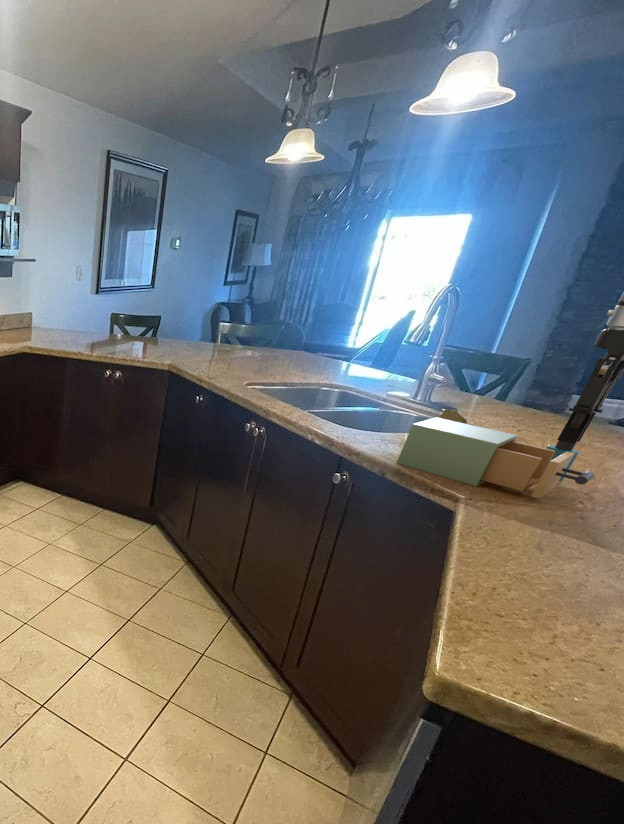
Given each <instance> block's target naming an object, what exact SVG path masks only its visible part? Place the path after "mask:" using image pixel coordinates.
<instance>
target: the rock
mask: <svg viewBox="0 0 624 824" xmlns="http://www.w3.org/2000/svg"><path fill="white" fill-rule="evenodd" d="M438 418H441V419H446V420H450V421H455V422H460V423H464V424H468V421H467V419H466V418H465V417H463V416H462V415H461V414H460V413H459V412H457V411H456V410H452V409H448V408H446V409H445V410H444V411H443V412H442V413H441V414H440V415H439V417H438Z"/></svg>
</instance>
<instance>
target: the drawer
mask: <svg viewBox="0 0 624 824" xmlns="http://www.w3.org/2000/svg"><path fill="white" fill-rule="evenodd" d="M554 453H555V451H554V450H549V449H546V448H545V447H540V446H535V445H532V444H527V443H523V442H519V441H515V442H514V441H510V442H508V443H506V444H503V445H501V446H499V447H497V449H496V451H495V453H494V455H493V457H492V459H491V460H490V462H489V464H488V466H487V468H486V470H485V472H484V474H483V476H482V478H481V480H484V481H485V482H487V483H490V484H493V485H494V484H495V485H499V486H500V487H501V486H502V487H504V488H508V489H512V490H515V491H519V492H524V491H526V490H528V489H529V488H531V487H533V486H534V485H535V484H536V486H535V488H534V489H533V491H532V493H531V495H530V497H531V498H534V499H540V498H542V497H543V496H545V495H546V494H548V493H549V492H551V491H552V490H554V489H555V488H556V487H557V486H558V484H559V483H560V482H559V480H560V478H561V477H564V479H568V480H572V481H574V482H575V483H576V484H577V485H585V484H587V483H588V482H590V481H591V480H592V479H594V478H595V473H594V472H593V471H591V470H587V471H584V472H582V471H578V470H574V469H571V468H570V469H566V468H567V466H568V465H569V463H570V461H571V459H572V458H573V456H574V454H575V453H571V452H565V453H564V454H562V455H560V456H558V457H557V458H555V459H553V460H552V461H550V460H551V458H552V456H553V455H554ZM549 462H550V463H549ZM548 464H549V465H548ZM547 465H548V466H547ZM546 467H547V468H546ZM545 469H546V470H545ZM544 471H545V472H544ZM543 472H544V473H543ZM564 472H567V474H564ZM542 474H543V475H542ZM572 474H573V475H572ZM575 475H576V476H575ZM541 476H542V477H541Z"/></svg>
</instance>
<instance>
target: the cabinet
mask: <svg viewBox="0 0 624 824" xmlns="http://www.w3.org/2000/svg"><path fill="white" fill-rule="evenodd" d="M518 436H519V435H517V434H515V433H509V432H505V431H499V430H496V429H491V428H487V427H483V426H478V425H474V424H473V425H472V424H469V423H467V424H464V423H460V422H455V421H450V420H446V419H441V418H439V417H438V416H437V417H436V416H435V417H432V418H429V419H425V420H423V421H418V422H415V423H412V425H411V427H410V430H409V432H408V435H407V437H406V439H405V442H404V444H403V446H402V448H401V451H400V453H399V455H398V458H397V461H396V464H398V465H402V466H406V467H408V468H412V469H414V470H415V469H416V470H419V471H422V472H426V473H429V474H433V475H436V476H440V477H442V478H446V479H450V480H453V481H457V482H460V483H463V484H467V485H470V486H473V487H478V486H480V485H482V484H484V483H485V482H486V481H484V480H481V478H482V476H483V474H484V472H485V470H486V468H487V466H488V464H489V462H490V460H491V459H492V457H493V455H494V453H495V451H496V449H497V447H499V446H501V445H503V444H506V443H508V442H510V441H514V442H516V440H517V438H518Z"/></svg>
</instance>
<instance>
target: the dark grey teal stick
mask: <svg viewBox="0 0 624 824" xmlns="http://www.w3.org/2000/svg"><path fill="white" fill-rule="evenodd" d="M587 424H588V423H587ZM586 426H587V425H586ZM584 429H585V428H584ZM583 431H584V430H583ZM580 436H581V435H580ZM579 438H580V437H579ZM577 441H578V440H577ZM577 443H578V442H576V444H577ZM576 444H573V443H568V442H564V441H559V440H557V443H556V444H548V445H547V446H546V448H545V449H549V450H554V451H555V453H554V455H553V456H552V458H551V460H550V461H552V460H553V459H555V458H557V457H558V456H560V455H562V454H564V453H565V452H571V453H575V454H574V456H573V458H572V459H571V461H570V463H569V465H568V466H567V468H566V469H570V470H571V467H572V466H573V464H574V462H575V460H576V458H577V457H578V455H579V454H580V451H579V450H578V449H575V447H576ZM549 463H550V462H549ZM548 465H549V464H548ZM548 465H547V466H548ZM546 468H547V467H546ZM545 470H546V469H545ZM544 472H545V471H544ZM544 472H543V473H544ZM564 474H568V472H564ZM542 475H543V474H542ZM541 477H542V476H541ZM564 479H565V477H561V478H560V480H559V482H558V483H560V482H563V481H564Z"/></svg>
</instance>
